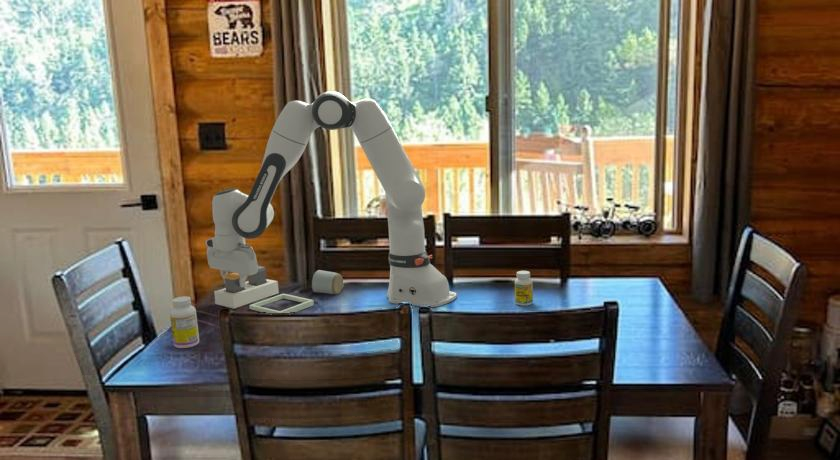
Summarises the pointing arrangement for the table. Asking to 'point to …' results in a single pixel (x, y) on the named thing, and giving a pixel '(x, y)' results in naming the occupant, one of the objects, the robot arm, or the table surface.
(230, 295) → the socket strip
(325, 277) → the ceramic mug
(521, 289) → the supplement bottle
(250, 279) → the twin plug
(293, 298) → the white square frame
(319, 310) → the table surface
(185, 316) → the supplement bottle
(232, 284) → the grey plug
